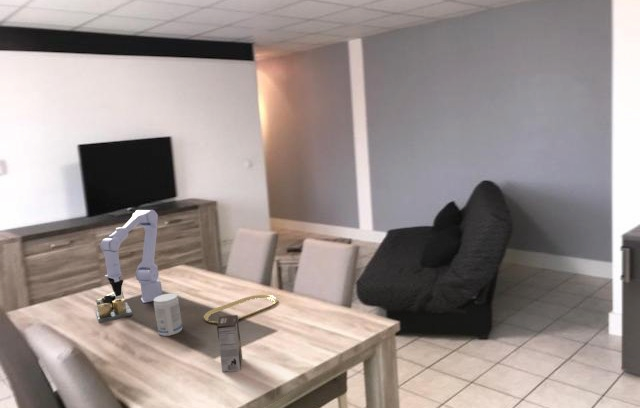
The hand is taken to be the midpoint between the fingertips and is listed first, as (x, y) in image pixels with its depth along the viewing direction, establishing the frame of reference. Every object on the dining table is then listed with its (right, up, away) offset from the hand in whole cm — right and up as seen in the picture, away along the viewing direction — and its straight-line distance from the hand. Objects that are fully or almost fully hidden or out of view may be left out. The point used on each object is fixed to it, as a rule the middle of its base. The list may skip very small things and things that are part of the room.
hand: (117, 293), depth 231 cm
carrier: (-3, -10, +3) cm, 11 cm away
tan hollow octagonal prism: (+1, -8, +1) cm, 8 cm away
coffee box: (+62, -14, -58) cm, 86 cm away
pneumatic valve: (-15, -7, +13) cm, 21 cm away
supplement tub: (+31, -12, -24) cm, 41 cm away
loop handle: (+57, -7, -6) cm, 58 cm away
